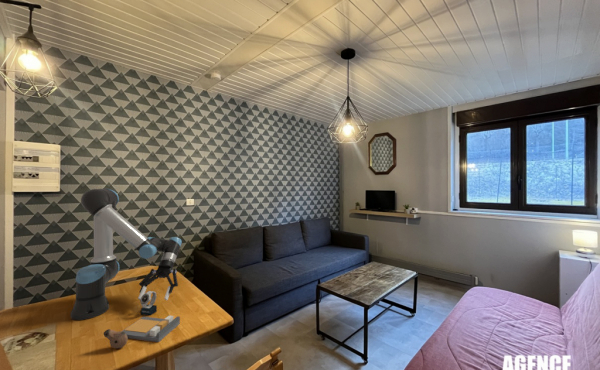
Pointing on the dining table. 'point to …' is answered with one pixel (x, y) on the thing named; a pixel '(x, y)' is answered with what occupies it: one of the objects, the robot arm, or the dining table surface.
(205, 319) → the dining table surface
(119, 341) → the oil lamp
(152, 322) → the board
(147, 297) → the watch
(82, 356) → the dining table surface
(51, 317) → the dining table surface
